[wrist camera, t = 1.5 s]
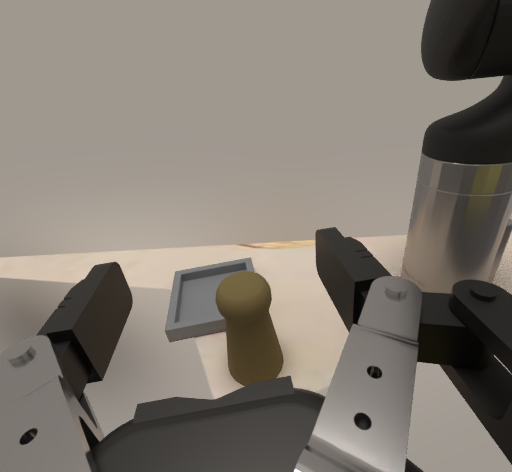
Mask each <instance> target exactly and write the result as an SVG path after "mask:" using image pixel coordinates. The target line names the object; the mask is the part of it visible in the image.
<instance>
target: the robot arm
mask: <svg viewBox="0 0 512 472" xmlns="http://www.w3.org/2000/svg"><path fill="white" fill-rule="evenodd" d="M421 54H422V62H423V65H424V68H425V70H426V71H427V73H428V74H429V75H430V76H432V77H433V78H436V79H440V80H447V81H457V80H466V79H476V78H486V77H495V76H504V77H503V79H502V81H501V84H500V85H499V86H498V88H497V89H496V90H495V91H494V92H493V93H492V94H490V95H489V96H488V97H486V98H485V99H483V100H482V101H480V102H478V103H477V104H475V105H473V106H471V107H469V108H467V109H465V110H463V111H460V112H457V113H455V114H452V115H449V116H447V117H444V118H441V119H439V120H437V121H435V122H433V123H432V124H431V125H429V127H428V128H427V130H426V132H425V136H424V140H423V146H422V153H421V159H420V165H419V171H418V177H417V184H416V189H415V196H414V201H413V207H412V213H411V219H410V224H409V230H408V236H407V242H406V248H405V253H404V259H403V265H402V271H401V277H396V276H392V275H391V274H390V273H389V272H388V271H387V270H386V269H385V268H384V267H383V266H382V265H381V264H380V263H379V261H378V260H377V259H376V258H375V257H373V255H372V254H371V253H370V252H369V251H367V248H366V247H365V246H364V245H363V244H362V243H361V242H359V241H357V240H355V239H353V238H351V237H346V238H344V237H343V236H342V234H341V233H340V232H339V231H338V230H337V228H335V227H333V228H326V229H320V230H317V231H316V266H317V271H318V275H319V277H320V279H321V281H322V283H323V285H324V286H325V288H326V290H327V292H328V294H329V296H330V298H331V300H332V301H333V303H334V305H335V307H336V309H337V311H338V313H339V314H340V316H341V318H342V320H343V322H344V324H345V326H346V328H347V329H348V331H349V335H348V338H347V341H346V343H345V346H344V349H343V351H342V354H341V357H340V359H339V362H338V365H337V368H336V370H335V373H334V376H333V378H332V381H331V384H330V387H329V389H328V392H327V395H326V397H324V396H323V395H320V394H318V393H315V392H312V391H309V390H304V389H298V388H293V384H292V380H291V376H287V377H282V378H276V379H271V380H266V381H260V382H255V383H252V384H250V385H247V386H245V387H243V388H241V389H238V390H236V391H234V392H232V393H229V394H227V395H225V396H223V397H220V398H218V399H214V400H208V399H207V400H206V399H194V398H182V397H173V398H168V399H162V400H157V401H152V402H146V403H141V404H137V408H136V412H135V416H134V419H132V420H130V421H128V422H127V423H125V424H123V425H121V426H120V427H118V428H117V429H115V430H114V431H112V432H111V433H110V434H108V435H107V436H106V437H104V435H103V432H102V430H101V428H100V426H99V423H98V421H97V419H96V416H95V414H94V412H93V410H92V407H91V405H90V403H89V400H88V398H87V396H86V394H85V393H84V391H83V390H84V388H85V386H86V384H87V383H92V382H98V381H102V380H103V378H104V375H105V373H106V370H107V368H108V365H109V363H110V360H111V358H112V355H113V353H114V350H115V348H116V345H117V343H118V341H119V338H120V335H121V333H122V331H123V328H124V325H125V323H126V321H127V318H128V316H129V313H130V311H131V308H132V294H131V291H130V289H129V286H128V284H127V282H126V279H125V277H124V274H123V272H122V270H121V267H120V265H119V264H118V263H117V262H111V263H105V264H99V265H95V266H94V267H93V268H92V269H91V271H90V272H89V274H88V275H87V277H86V278H85V279H84V280H82V281H80V282H79V283H78V284H77V285H75V286H74V287H73V288H72V289H71V290H70V291H69V292H68V294H67V295H66V296H65V298H64V301H62V302H61V303H60V304H59V306H58V309H56V310H55V311H54V313H53V314H52V315H51V316H50V318H49V319H48V320H47V322H46V323H45V324H44V326H43V327H42V329H41V330H40V331H39V333H38V334H37V335H36V336H32V337H29V338H26V339H24V340H21V341H19V342H17V343H16V344H14V345H12V346H11V347H9V348H8V349H7V350H5V351H4V352H3V353H1V355H0V472H423V471H422V470H421V469H420V468H418V467H417V466H416V465H415V464H413V463H412V462H411V461H410V460H408V459H407V458H406V454H407V445H408V436H409V426H410V418H411V409H412V400H413V390H414V381H415V373H416V364H417V362H424V363H433V364H439V365H440V366H441V367H442V369H443V370H444V372H445V373H446V374H447V376H448V377H449V379H450V380H451V381H452V383H453V384H454V385H455V387H456V388H457V390H458V391H459V392H460V394H461V395H462V397H463V398H464V399H465V401H466V402H467V403H468V405H469V406H470V408H471V409H472V410H473V412H474V413H475V414H476V416H477V417H478V419H479V420H480V421H481V423H482V424H483V425H484V427H485V428H486V430H487V431H488V432H489V434H490V435H491V437H492V438H493V439H494V441H495V442H496V444H497V445H498V446H499V448H500V449H501V450H502V452H503V453H504V454H505V456H506V457H507V459H508V460H509V461H510V463H511V464H512V375H511V374H512V295H511V294H510V293H508V292H507V291H505V290H504V289H502V288H500V287H499V286H496V285H494V284H492V282H493V279H494V276H495V274H496V271H497V269H498V266H499V263H500V261H501V258H502V255H503V253H504V250H505V247H506V245H507V242H508V239H509V237H510V234H511V231H512V220H511V219H509V218H510V215H511V212H512V0H431V3H430V6H429V9H428V12H427V16H426V19H425V24H424V28H423V34H422V43H421ZM494 355H495V356H496V357H497V358H498V359H499V360H500V361H501V362H502V363H503V364H504V365H505V366H506V367H507V368H508V370H509V371H510V372H511V374H510V373H509V372H508V371H507V369H506V368H505V367H504V366H502V364H501V363H500V362H499V361H498V360H497V359H496V358H495V357H494Z"/></svg>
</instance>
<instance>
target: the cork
mask: <svg viewBox="0 0 512 472" xmlns="http://www.w3.org/2000/svg"><path fill="white" fill-rule="evenodd" d="M271 300H272V298H271V289H270V286H269V284H268V283H267V281H266V280H265V279H264V278H263V277H262V276H261V275H259V274H258V273H254V272H249V271H243V272H237V273H234V274H231V275H229V276H227V277H226V278H225V279H223V280H222V281H221V283H220V284H219V286H218V288H217V290H216V299H215V301H216V305H217V308H218V310H219V312H220V314H221V315H222V316H223V317H224V318H225V320H226V336H227V351H228V366H229V370H230V373H231V375H232V377H233V378H234V379H235V380H236V381H237V382H239V383H240V384H242V385H245V386H247V385H250V384H252V383H255V382H260V381H266V380H271V379H275V378H276V377H277V376H278V374H279V373H280V371H281V369H282V365H283V354H282V351H281V348H280V345H279V342H278V338H277V335H276V332H275V329H274V326H273V323H272V320H271V317H270V314H269V307H270V304H271Z"/></svg>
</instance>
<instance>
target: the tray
mask: <svg viewBox="0 0 512 472" xmlns="http://www.w3.org/2000/svg"><path fill="white" fill-rule="evenodd" d="M243 271H249V272H254V268H253V264H252V260H251V258H246V259H240V260H235V261H230V262H224V263H219V264H214V265H208V266H203V267H197V268H192V269H187V270H181V271H176V272H175V276H174V282H173V287H172V293H171V299H170V305H169V311H168V316H167V322H166V328H165V332H166V335H167V337H168V340H169V342H173V341H178V340H183V339H187V338H192V337H197V336H202V335H207V334H212V333H217V332H222V331H226V320H225V318H224V317H223V316H222V315H221V314H220V312H219V310H218V308H217V305H216V301H215V299H216V290H217V288H218V286H219V284H220V283H221V281H222V280H223V279H225V278H226V277H227V276H229V275H231V274H234V273H237V272H243Z"/></svg>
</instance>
